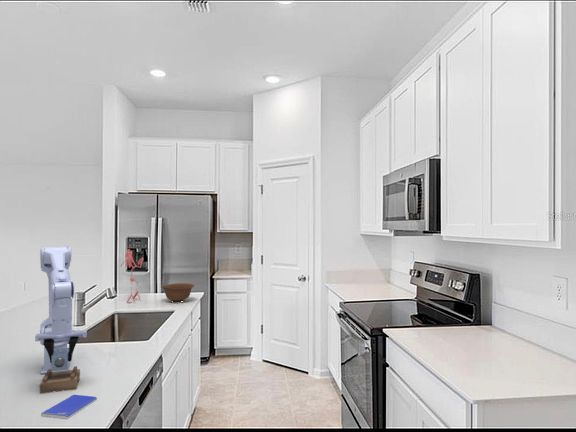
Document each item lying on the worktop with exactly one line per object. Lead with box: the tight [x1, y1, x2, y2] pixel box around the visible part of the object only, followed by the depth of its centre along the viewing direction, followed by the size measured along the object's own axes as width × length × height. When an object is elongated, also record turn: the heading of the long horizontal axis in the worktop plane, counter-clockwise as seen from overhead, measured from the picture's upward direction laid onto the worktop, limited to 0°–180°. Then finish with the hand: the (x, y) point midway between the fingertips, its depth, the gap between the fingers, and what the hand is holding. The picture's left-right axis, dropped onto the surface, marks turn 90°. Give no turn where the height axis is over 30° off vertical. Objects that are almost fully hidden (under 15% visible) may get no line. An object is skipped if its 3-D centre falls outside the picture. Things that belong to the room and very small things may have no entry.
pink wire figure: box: [120, 248, 145, 303], centre depth 276 cm, size 15×26×35 cm, turn 178°
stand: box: [39, 365, 81, 394], centre depth 134 cm, size 10×10×4 cm
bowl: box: [160, 282, 195, 302], centre depth 276 cm, size 22×22×11 cm
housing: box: [51, 347, 72, 371], centre depth 134 cm, size 7×4×5 cm, turn 21°
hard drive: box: [40, 394, 98, 420], centre depth 118 cm, size 2×8×12 cm
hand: (61, 361), depth 134 cm, fingers closed on housing, 4 cm apart
